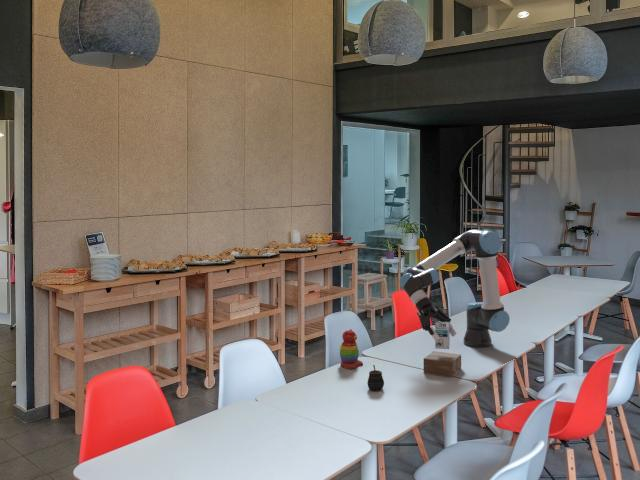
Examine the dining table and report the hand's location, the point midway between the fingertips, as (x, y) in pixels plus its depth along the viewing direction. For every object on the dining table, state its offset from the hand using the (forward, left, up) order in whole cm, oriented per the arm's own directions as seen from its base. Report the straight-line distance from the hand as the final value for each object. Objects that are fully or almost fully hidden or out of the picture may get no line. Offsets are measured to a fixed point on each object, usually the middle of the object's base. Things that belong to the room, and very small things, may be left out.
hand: (446, 337), depth 288 cm
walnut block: (-1, -2, -17) cm, 17 cm away
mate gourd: (+37, -20, -17) cm, 45 cm away
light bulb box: (-1, -2, -5) cm, 5 cm away
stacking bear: (+10, -46, -17) cm, 50 cm away
